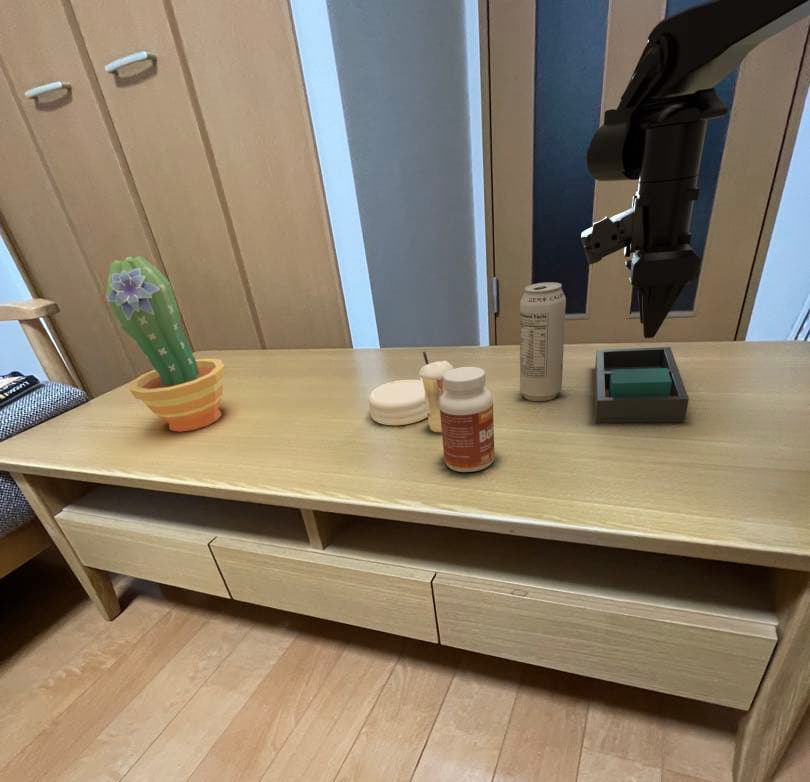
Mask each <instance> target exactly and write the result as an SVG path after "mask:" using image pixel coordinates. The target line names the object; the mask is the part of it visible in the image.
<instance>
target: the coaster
mask: <svg viewBox="0 0 810 782" xmlns="http://www.w3.org/2000/svg"><path fill="white" fill-rule="evenodd" d="M367 402H368V404H369V405H368V408H369V410H370V413H369V415H370V417H371V419H372V420H373V421H374V422H376V423H379V424H381V425H385V426H405V425H410V424H415V423H417V422H420V421H423V420H425V419H428V414H427V409H426V404H425V398H424V393H423V389H422V384H421V380H420V379H401V380H395V381H389V382H387V383H384V384H380V385H379V386H376V387H375V388H374V389H372V390H371V391H370V393H368V396H367Z"/></svg>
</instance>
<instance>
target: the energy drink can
mask: <svg viewBox="0 0 810 782" xmlns="http://www.w3.org/2000/svg"><path fill="white" fill-rule="evenodd" d="M566 308H567V297H566V295H565V292H564V291H563V285H562V283H561V282H560V283H559V282H554V281H550V282H549V281H547V282H545V281H544V282H538V283H533V284H529V285H527V286H525V287H524V293H523V295H522V296H521V299H520V301H519V392H520V393H521V394H523V397H524V399H525V400H528V401H530V402H531V401H532V402H546V401H550V400H553V399H555V398H557V396H558V395H559V394H558V393H559V392H560V391H562V389H563V370H564V369H563V368H564V350H565V349H564V347H565V325H566Z"/></svg>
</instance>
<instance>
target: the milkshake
mask: <svg viewBox="0 0 810 782" xmlns="http://www.w3.org/2000/svg"><path fill="white" fill-rule="evenodd" d="M422 357H423V360H424V364H425V365H423V366H422V367H421V369H420V370H419V372H418V375H419V380H420V381H421V384H422V389H423V393H424V398H425V404H426V409H427V414H428V417H427V419H428V424H429V430H430V431H432V432H434V433H441V434H442V428H441V418H440V408H439V401H440V398H441V396H442V395H443V394H444V393H445V392H446V390H445V388H444V381H443V375H444V374H445V373H446V372H447V371H450V370H452V369H455V368H454V367H453V365H452V364H451V363H449V362H448V361H447V360H441V361H434V362H430V363H429V359H428V356H427V352H426V351H422Z"/></svg>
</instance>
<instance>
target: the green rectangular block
mask: <svg viewBox="0 0 810 782" xmlns="http://www.w3.org/2000/svg"><path fill="white" fill-rule="evenodd" d="M671 383H672V381H671V378H670V375H669V372H668V368H651V369H621V370H611V375H610V385H609V397H662V396H669V395H670V389H671Z"/></svg>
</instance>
